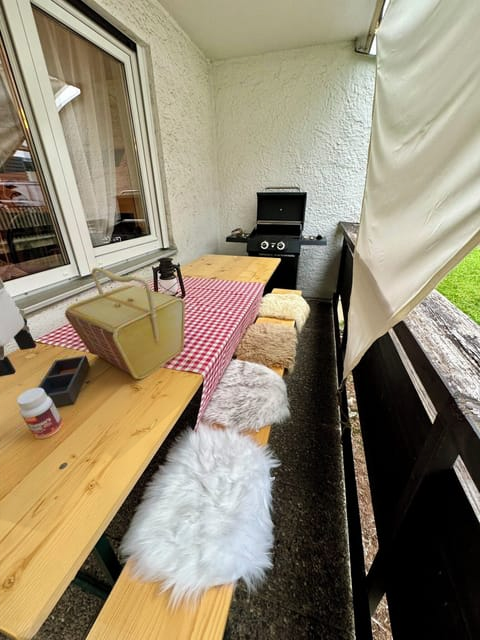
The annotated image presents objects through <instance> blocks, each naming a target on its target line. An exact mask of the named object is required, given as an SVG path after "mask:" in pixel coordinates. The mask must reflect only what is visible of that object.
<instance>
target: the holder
mask: <svg viewBox="0 0 480 640" xmlns="http://www.w3.org/2000/svg"><path fill="white" fill-rule="evenodd" d="M90 369H91V365H90V362H89V360H88V357H87V355H86V354H85V355H80V356H73V357H67V358H62V359H55V360H54V361H53V363H52V364H51V366H50V368H49V369H48V371H47V372H46V374H45V376H44V377H43V378H42V380H41V381H40V382H39V384H38V386H37V388H42V389H43V390H44V391H45V393H46V395H47V396H48V397H50V398H51V399H52V401H53V403H54V405H55V407H56V409H57V408H63V407H68V406H74V405H75V403H76V402H77V399H78V397H79V394H80V392H81V390H82V387H83V385H84V383H85V380H86V378H87V376H88V373H89V371H90Z"/></svg>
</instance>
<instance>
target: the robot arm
mask: <svg viewBox="0 0 480 640" xmlns="http://www.w3.org/2000/svg"><path fill="white" fill-rule="evenodd" d="M30 329H31V328H30V327H29V326H28V319H27V318H26V314H25V310H24V309H21V308H19V307H18V305H17V304H16V302H15V301H14V299H13V297H12V296H11V294H10V293H9V291H8V290H7V288H6V286H5V284H4V281H3V279H2V277H0V378H1V377H6V376H12V375H15V373H16V372H17V371H16V369H15V367H14V365H13V363H12V362H11V360H10V359H9V357H8V356H5V346H6V345H8V343H9V342H11V341H12V340H14V341H15V343H16V345H17V346H18V348H19V350H20V351H26V350H30V349H31V350H32V349H36V348H37V344H36V342H35V340H34V337H33V336H32V334H31V332H30V331H31V330H30Z"/></svg>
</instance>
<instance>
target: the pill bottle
mask: <svg viewBox="0 0 480 640" xmlns="http://www.w3.org/2000/svg"><path fill="white" fill-rule="evenodd" d="M16 404H17V405H18V407H19V408H20V410H19V412H20V413H19V414H20V415H21V417H22V419H23V420H24V422H25V423H26V425H27V427H28V428H29V430H30V432H31V434H32V435H33V437H34V438H36V439H39V440H40V439H41V440H43V439H47V438H50V437H52V436H54V435H55V434H56V433H57V432H59V430H61V428H62V427H63V424H64V423H63V422H64V421H63V418H62V416H61V414H60V413H59V411H58V409H57V408H56V407H55V405H54V403H53V401H52V399H51V398H50V397H48V396H47V395H46V393H45V391H44V390H43V389H42V388H38V387H33V388H29V389H28V390H26V391H24V392H23V393H21V394H20V395H19V396H18V397H17V399H16Z"/></svg>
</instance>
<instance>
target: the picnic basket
mask: <svg viewBox="0 0 480 640" xmlns="http://www.w3.org/2000/svg"><path fill="white" fill-rule="evenodd" d="M97 272H99V273H102V274H103V275H104V276H105V277H106V278H109V279H110V280H112V281H115V282H118V283H130V282H132V281H133V282H138V283H141V284H142V285H143V286H144V287H141V286H137V285H134V284H125V285H122V286H120V287H117V288H114V289H111V290H108V291H105V292H103V288H102V286H101V283H100V280H99V278H98V275H97ZM91 275H92V278H93V281H94V283H95V286H96V289H97V291H98V294H96V295H94V296H92V297H91V296H90V297H89V298H86V299H83V300H80V301H78V302H75V303H72V304H70V305H69V306H67V307H66V309H65V311H64V316H65V318H66V320H67V321H68V323H69V325H70V326H71V327H72V329H73V330H74V331H75V333H76V334H77V336H78V338H79V339H80V340H81V342H82V343H83V345H84V346H85V347H86V349H87V350H88V352H89V353H90V354H91V355H95V356H98V357H100V358H101V359H103V360H105V361H106V362H108V363H110V364H112V365H113V366H116V367H117V368H119V369H121V370H123V371H124V372H125V373H128V374H129V375H131V376H132V378H134V379H135V380H142V379H145V378H147V377H148V376H150V375H151V374H153V373H154V372H155V371H157V370H158V369H160V368H161V367H163V366H164V365H166V364H167V363H168V362H170V361H171V360H173V359H174V358H176V357H177V356H178V355H180V353H181V352H182V351H183V348H184V347H185V346H184V345H185V327H186V326H185V323H186V302H185V300H184V299H183V298H181V297H177V296H173V295H169V294H167V293H163V292H158V291H155V290H153V289H152V287H151V285H150V283H149V282H148V281H147V280H146V279H144V278H141V277H137V276H121V275H117V274H115V273H113V272H111V271H108V270H106V269H104V268H100V267H93V268H92V270H91Z"/></svg>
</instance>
